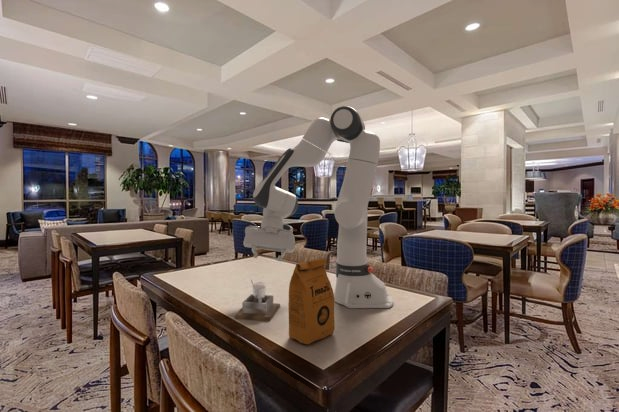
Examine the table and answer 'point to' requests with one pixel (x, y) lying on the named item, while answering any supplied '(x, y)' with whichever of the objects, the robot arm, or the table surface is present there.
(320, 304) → the coffee package
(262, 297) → the milkshake
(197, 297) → the table surface
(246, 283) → the table surface
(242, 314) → the socket base
